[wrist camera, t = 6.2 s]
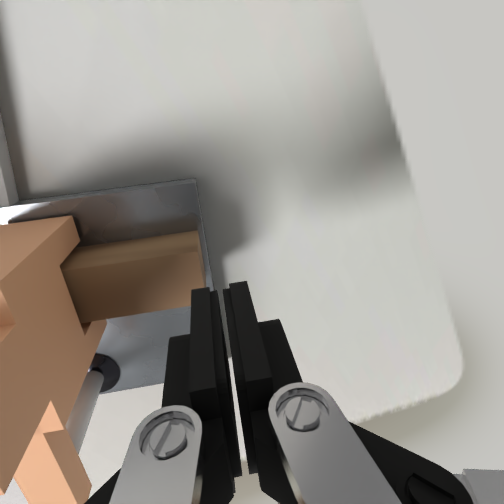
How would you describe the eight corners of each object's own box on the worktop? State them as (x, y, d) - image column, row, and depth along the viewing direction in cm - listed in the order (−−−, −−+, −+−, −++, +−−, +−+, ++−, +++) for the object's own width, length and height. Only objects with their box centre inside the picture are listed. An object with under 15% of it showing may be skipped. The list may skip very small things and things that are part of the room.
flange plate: (-224, 232, 15) (-254, 241, 14) (195, 177, 17) (195, 183, 16) (-95, 415, 20) (-111, 432, 19) (225, 360, 21) (227, 373, 20)
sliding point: (-1, 225, 15) (-250, 382, 7) (71, 215, 15) (-82, 355, 7) (74, 402, 19) (-22, 635, 11) (129, 393, 20) (77, 613, 11)
